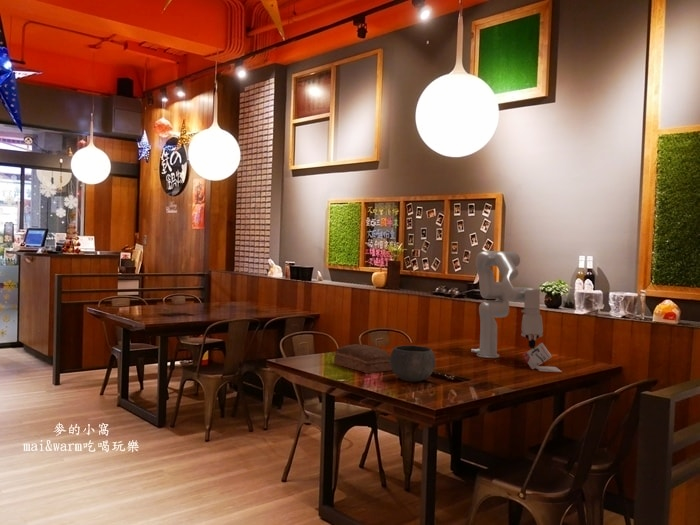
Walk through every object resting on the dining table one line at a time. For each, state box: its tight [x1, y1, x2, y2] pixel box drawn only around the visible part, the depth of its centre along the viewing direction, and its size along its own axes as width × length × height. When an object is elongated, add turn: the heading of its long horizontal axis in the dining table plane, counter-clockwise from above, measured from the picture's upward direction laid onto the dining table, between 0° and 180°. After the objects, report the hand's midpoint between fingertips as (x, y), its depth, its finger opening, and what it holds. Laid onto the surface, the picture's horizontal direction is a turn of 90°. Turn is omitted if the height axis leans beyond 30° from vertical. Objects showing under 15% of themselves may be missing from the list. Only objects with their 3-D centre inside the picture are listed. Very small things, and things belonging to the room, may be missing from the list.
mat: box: [535, 365, 563, 373], centre depth 312 cm, size 11×12×1 cm
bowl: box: [390, 344, 436, 383], centre depth 277 cm, size 20×20×15 cm
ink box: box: [522, 342, 552, 370], centre depth 310 cm, size 9×5×12 cm
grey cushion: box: [333, 343, 392, 374], centre depth 306 cm, size 17×29×11 cm, turn 36°
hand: (531, 347), depth 311 cm, fingers closed
